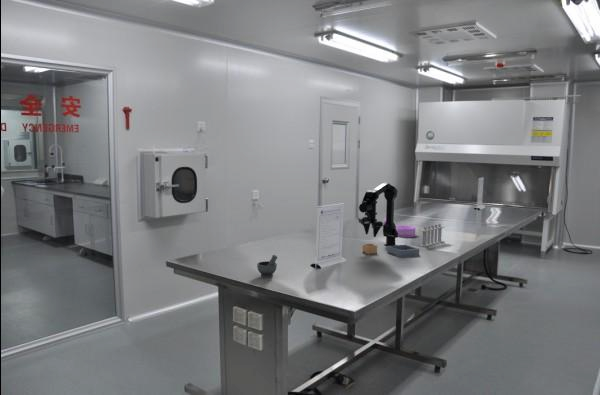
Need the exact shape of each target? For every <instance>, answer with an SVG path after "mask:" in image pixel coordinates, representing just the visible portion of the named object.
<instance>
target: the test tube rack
mask: <svg viewBox="0 0 600 395" xmlns="http://www.w3.org/2000/svg"><path fill="white" fill-rule="evenodd" d="M445 227H446V226H442V224H441V223H438V224H433V225H427V226H424V227H423V229H420V230H419V232H422V244H419V245H418V247H421V246H422V248H426V247H430V246H435V245H439V244H444V243H445V241H444V240H442V231H443V228H445Z"/></svg>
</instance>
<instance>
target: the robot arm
mask: <svg viewBox="0 0 600 395" xmlns="http://www.w3.org/2000/svg"><path fill="white" fill-rule="evenodd" d="M381 194H383V196H384V198H385V201H386V212H385V213H386V215H385V218H386V223H385V224H384V225H383V223H384V221H381V220H378V219H377V218H376V217H377V216H376V215H378V212H377V204H378V201H377V200H378V199H379V197H380V195H381ZM397 197H398V189H397V187H395V186H393V185H391V184H390V182H382V183H380V185H378V186H376V187H375V188H374V189H369V190H366V191H365V194H364V195H363V199H362V201H361V203H359V206H358V210H359V211H360V213H364V214H363V215H361V216H359V217H358V218H357V219H358V223H359V224H361V225H362V227H363V228H364V232H365V235H368V234H369V231H370V226H371V228H372V234H373V238H376V237H377V235H378V233H379V231H380V230H381V228H382V235H383V237H386V238H385V244H383V245H384V246H386V247H387V246H395V245H396V238H397V239H398V238H399V236H398V232H397V230H396V226H397V225H396V224H395V222H394V219H395V218H394V217H395V216H394V214H395V213H394V212H395V201H396V200H395V199H396V198H397Z"/></svg>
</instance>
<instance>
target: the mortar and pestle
mask: <svg viewBox="0 0 600 395" xmlns="http://www.w3.org/2000/svg"><path fill="white" fill-rule="evenodd" d="M277 259H278V256H277V255H276V254H273V255H272V256H271V258H270V260H269V261H266V260H265V261H260V262H258V263H257V264H256V265H257V270H258V272H259V273H260V277H261V279H273V277H274V273H275V272H276V270H277V266H278V265H277V262H276V261H277Z"/></svg>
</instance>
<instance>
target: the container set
mask: <svg viewBox="0 0 600 395" xmlns="http://www.w3.org/2000/svg"><path fill="white" fill-rule="evenodd" d="M385 223H386V217H384V219H383V225H384V224H385ZM396 230H397V232H398V238H414V237H416V226H412V225H396Z"/></svg>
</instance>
